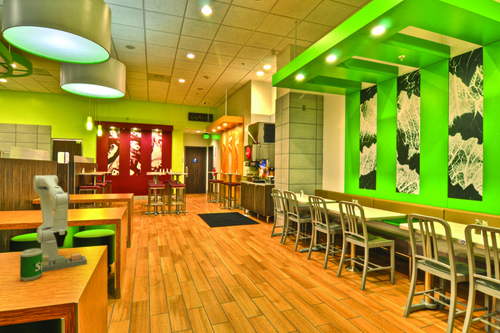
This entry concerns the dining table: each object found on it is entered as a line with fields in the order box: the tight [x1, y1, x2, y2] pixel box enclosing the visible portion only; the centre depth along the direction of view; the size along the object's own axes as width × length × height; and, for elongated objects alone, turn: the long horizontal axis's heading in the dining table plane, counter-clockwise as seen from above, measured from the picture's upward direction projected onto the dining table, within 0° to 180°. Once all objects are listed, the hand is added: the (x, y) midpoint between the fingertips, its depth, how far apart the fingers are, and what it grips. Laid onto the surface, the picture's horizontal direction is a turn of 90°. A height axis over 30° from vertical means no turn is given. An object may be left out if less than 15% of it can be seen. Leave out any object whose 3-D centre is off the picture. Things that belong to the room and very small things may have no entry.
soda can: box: [19, 247, 43, 282], centre depth 119 cm, size 8×8×12 cm
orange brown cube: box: [70, 252, 82, 262], centre depth 137 cm, size 4×4×4 cm
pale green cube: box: [54, 254, 67, 264], centre depth 133 cm, size 4×4×4 cm
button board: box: [42, 255, 88, 273], centre depth 133 cm, size 8×21×2 cm, turn 130°
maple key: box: [43, 255, 49, 266], centre depth 129 cm, size 4×4×4 cm
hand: (60, 247), depth 133 cm, fingers closed
